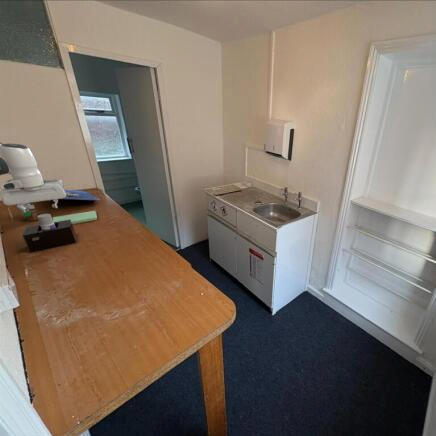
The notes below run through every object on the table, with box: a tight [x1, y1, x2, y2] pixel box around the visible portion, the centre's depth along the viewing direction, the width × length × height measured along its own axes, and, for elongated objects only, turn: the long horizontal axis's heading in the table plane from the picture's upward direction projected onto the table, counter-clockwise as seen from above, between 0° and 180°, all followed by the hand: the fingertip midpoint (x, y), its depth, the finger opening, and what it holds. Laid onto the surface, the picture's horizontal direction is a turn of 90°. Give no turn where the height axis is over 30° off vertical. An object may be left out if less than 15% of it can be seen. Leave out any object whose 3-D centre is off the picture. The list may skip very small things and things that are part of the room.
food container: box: [16, 202, 39, 222], centre depth 138 cm, size 12×6×10 cm, turn 55°
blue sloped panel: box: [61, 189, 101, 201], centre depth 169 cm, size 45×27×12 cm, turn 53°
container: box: [37, 213, 56, 230], centre depth 114 cm, size 5×5×15 cm
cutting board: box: [52, 210, 98, 225], centre depth 142 cm, size 20×14×2 cm
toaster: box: [22, 220, 77, 253], centre depth 114 cm, size 16×12×9 cm
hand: (41, 210), depth 110 cm, fingers open, 8 cm apart
